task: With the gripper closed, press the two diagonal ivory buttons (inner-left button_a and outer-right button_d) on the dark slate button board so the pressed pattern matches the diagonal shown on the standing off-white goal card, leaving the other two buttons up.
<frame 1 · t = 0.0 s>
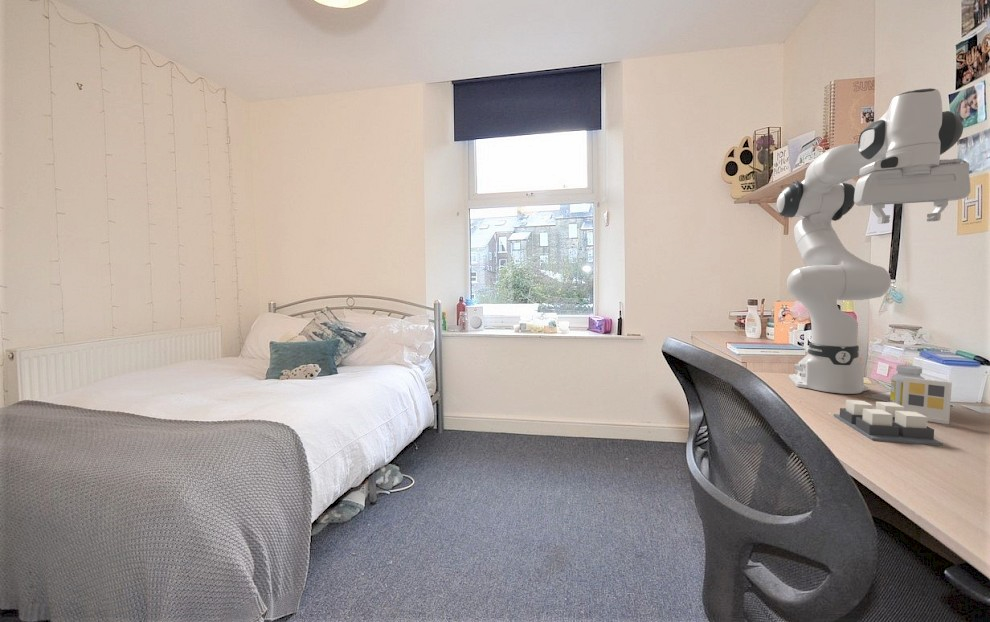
hand: (908, 222, 94), 48 cm above the table, fingers open, 8 cm apart
button d: (877, 418, 90), point 4 cm above the table, slide at 0.0 cm
button board: (882, 429, 93), on the table
button c: (858, 408, 97), point 4 cm above the table, slide at 0.0 cm
goal card: (924, 419, 99), on the table
button b: (910, 420, 88), point 4 cm above the table, slide at 0.0 cm
pill bottle: (906, 410, 106), on the table
button a: (889, 410, 95), point 4 cm above the table, slide at 0.0 cm
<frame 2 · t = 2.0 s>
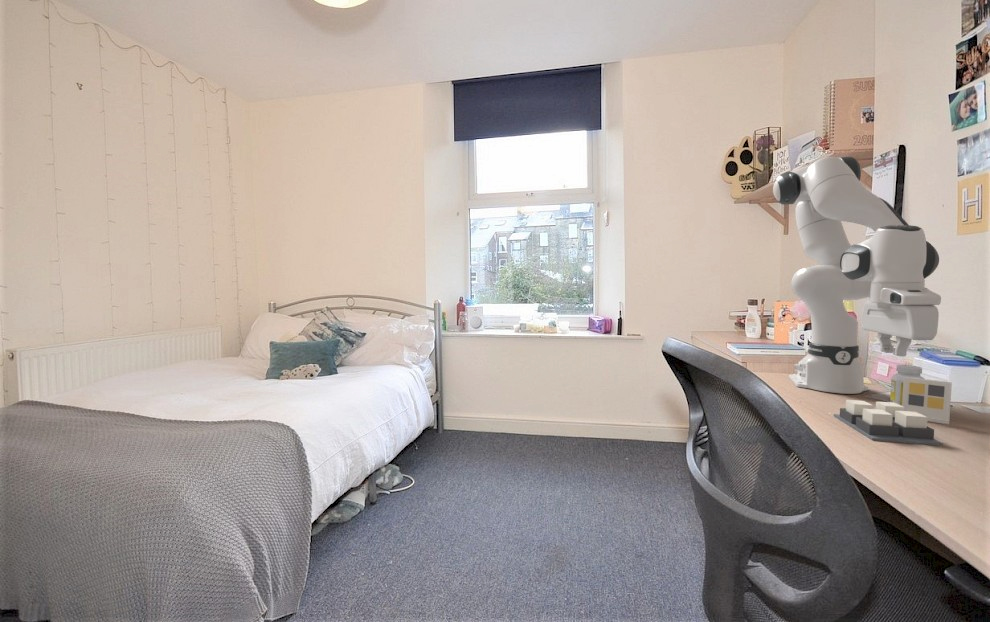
hand: (892, 354, 94), 17 cm above the table, fingers open, 3 cm apart
nothing on the table moved.
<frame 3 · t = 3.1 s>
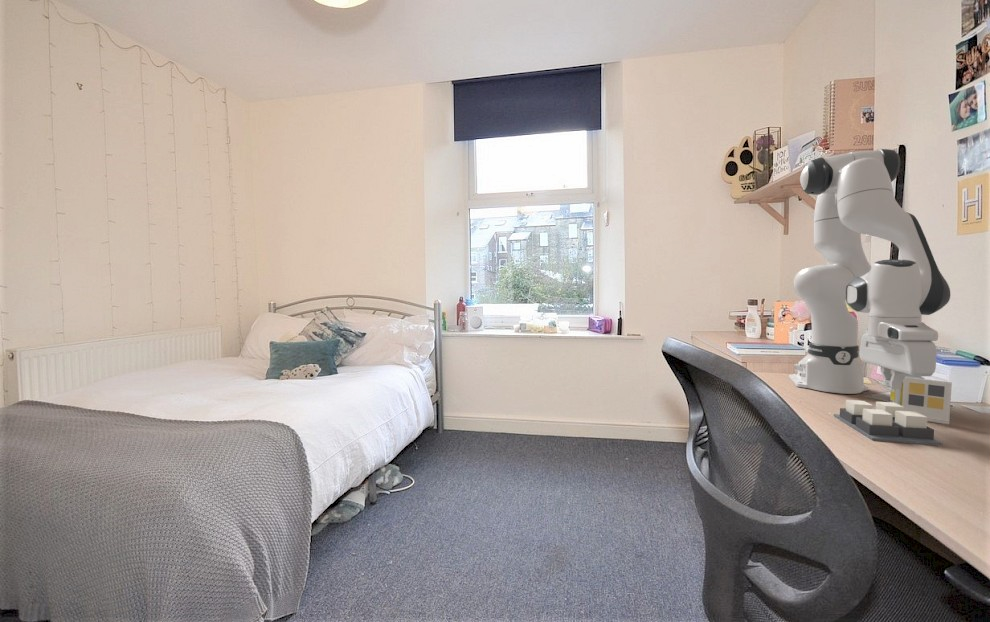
hand: (892, 387, 94), 9 cm above the table, fingers closed
nothing on the table moved.
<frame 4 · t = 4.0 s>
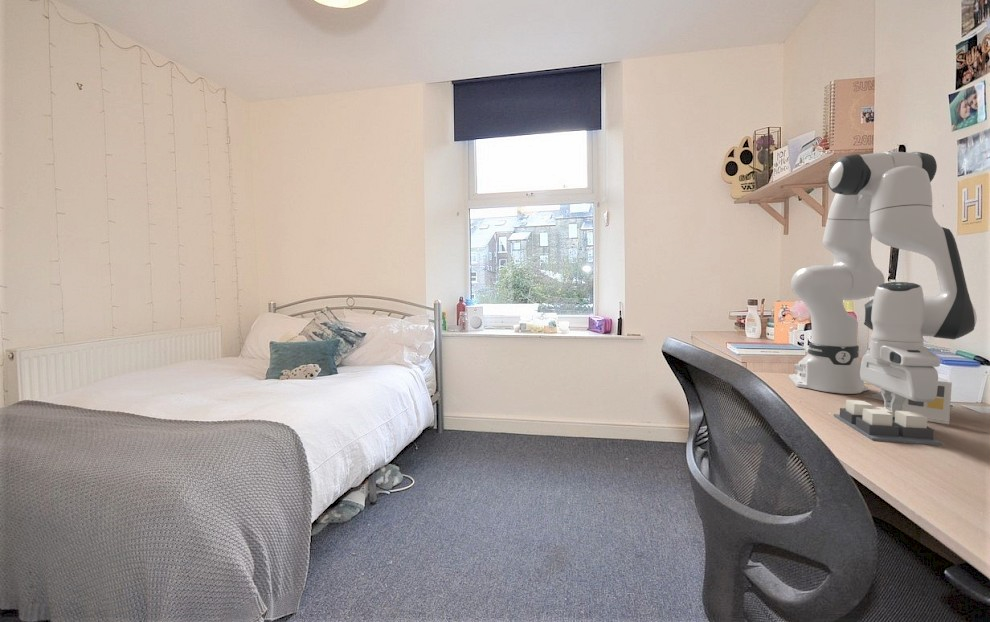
hand: (892, 409, 95), 4 cm above the table, fingers closed, pressing on button a
button a: (889, 415, 95), point 2 cm above the table, slide at 1.3 cm, touching gripper
everything else where it was.
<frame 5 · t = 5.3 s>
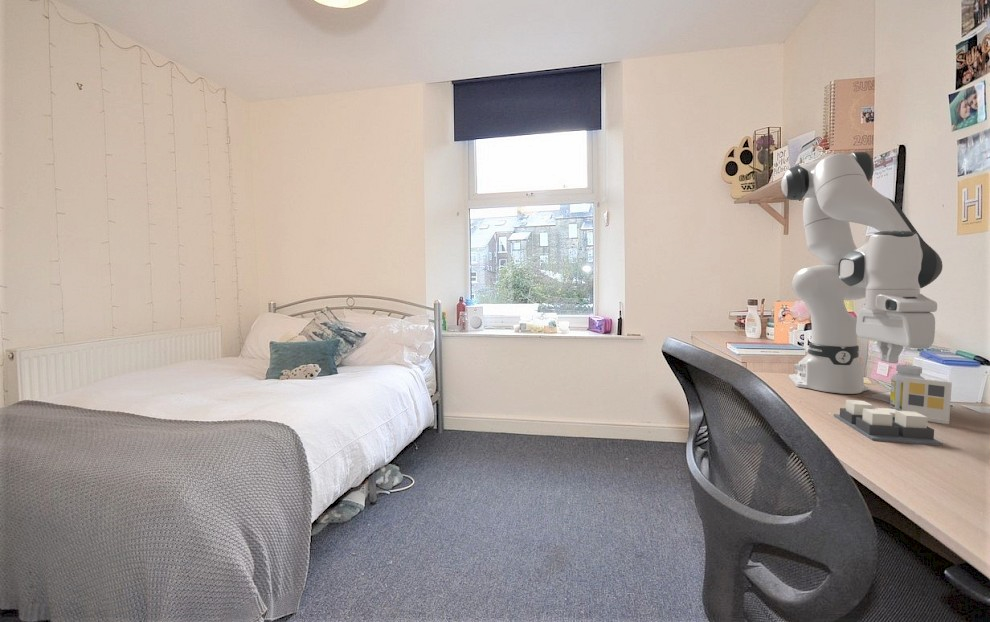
hand: (889, 362, 92), 16 cm above the table, fingers closed
button a: (889, 416, 95), point 2 cm above the table, slide at 1.5 cm
everything else where it was.
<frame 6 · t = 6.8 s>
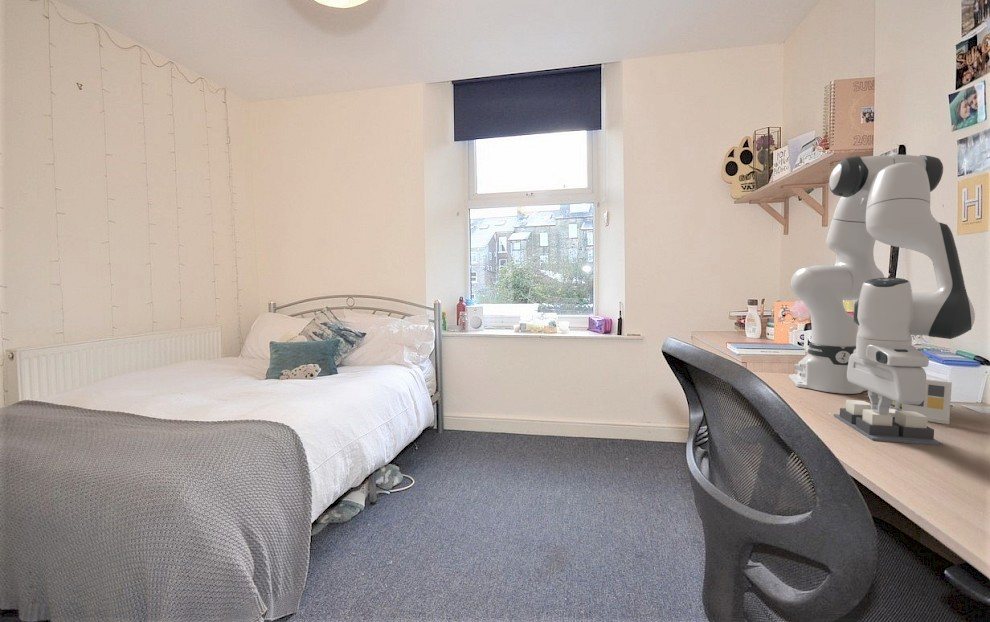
hand: (879, 412, 90), 5 cm above the table, fingers closed, pressing on button d
button d: (877, 418, 90), point 3 cm above the table, slide at 0.2 cm, touching gripper
everything else where it was.
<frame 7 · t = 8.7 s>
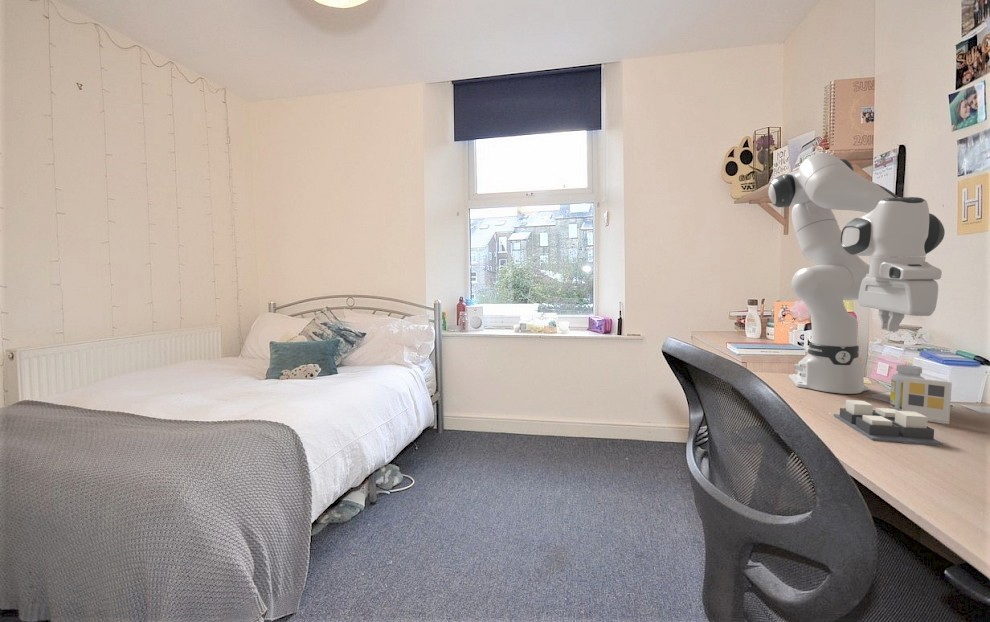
hand: (889, 330, 92), 23 cm above the table, fingers closed
button d: (876, 424, 90), point 2 cm above the table, slide at 1.5 cm
everything else where it was.
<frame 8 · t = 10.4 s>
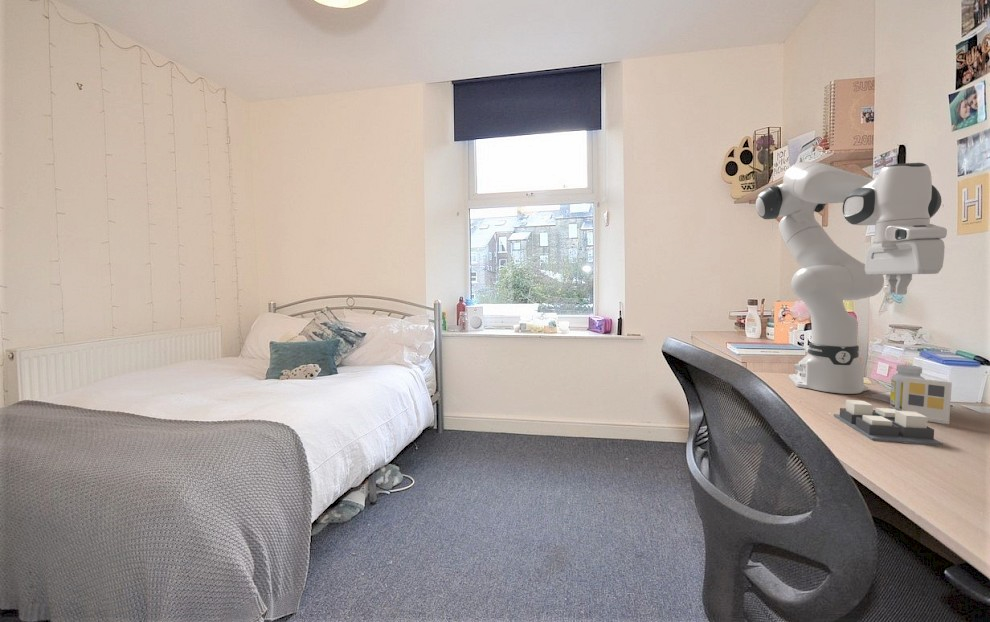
hand: (897, 294, 93), 31 cm above the table, fingers closed
nothing on the table moved.
at the end: button a slide at 1.5 cm; button d slide at 1.5 cm; button c slide at 0.0 cm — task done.
